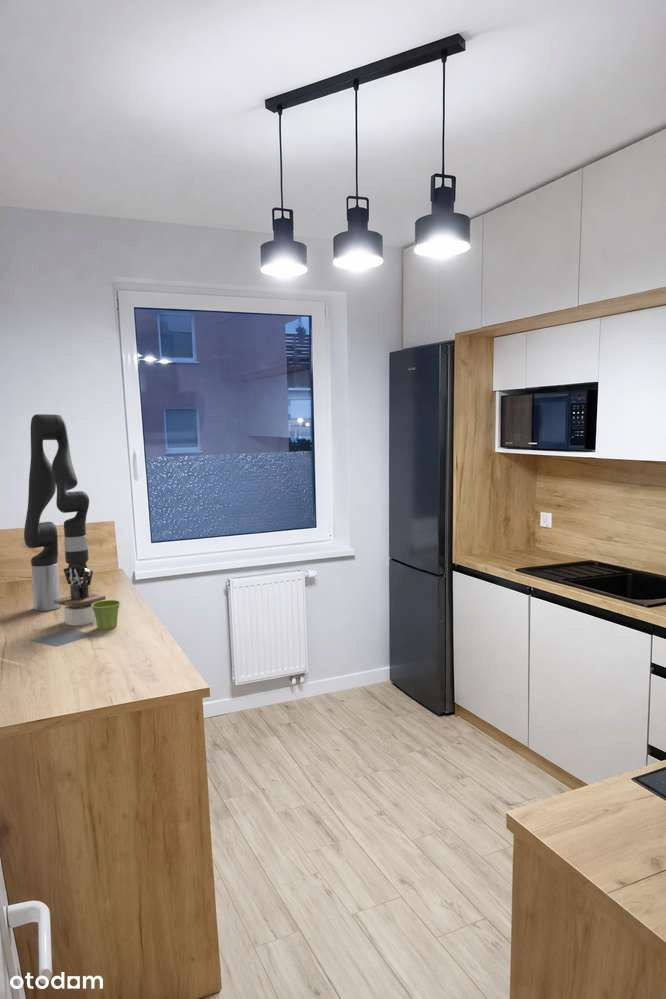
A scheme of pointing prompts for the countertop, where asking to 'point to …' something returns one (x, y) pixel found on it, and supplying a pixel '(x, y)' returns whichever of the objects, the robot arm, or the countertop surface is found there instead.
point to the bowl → (79, 615)
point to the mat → (62, 637)
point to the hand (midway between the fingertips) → (79, 596)
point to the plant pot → (106, 613)
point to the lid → (76, 600)
